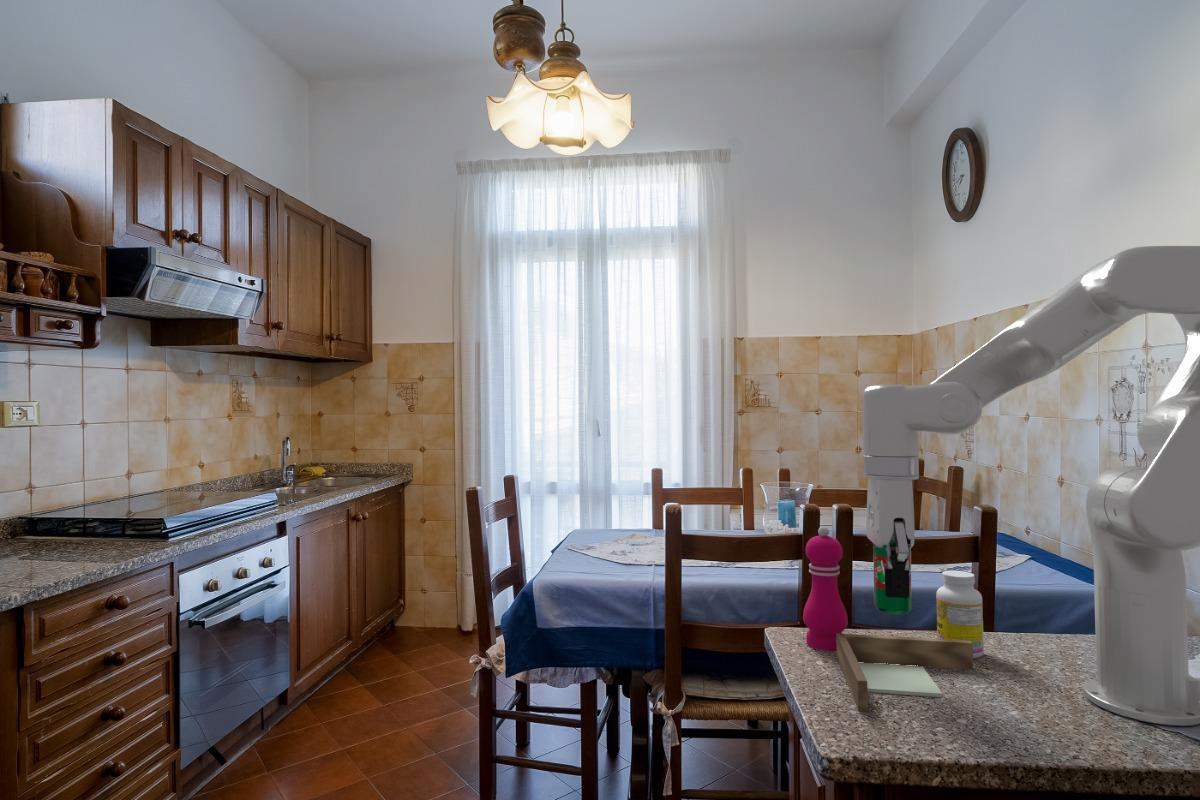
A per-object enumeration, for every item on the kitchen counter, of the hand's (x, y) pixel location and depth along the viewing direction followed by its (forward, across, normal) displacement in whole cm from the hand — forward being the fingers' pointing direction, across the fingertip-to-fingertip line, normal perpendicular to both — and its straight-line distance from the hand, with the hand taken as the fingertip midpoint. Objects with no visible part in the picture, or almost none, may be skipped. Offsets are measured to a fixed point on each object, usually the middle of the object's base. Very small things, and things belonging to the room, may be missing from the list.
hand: (892, 590), depth 97 cm
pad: (+13, 0, 0) cm, 13 cm away
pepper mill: (+13, -14, -8) cm, 21 cm away
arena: (+13, +2, +3) cm, 14 cm away
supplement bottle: (+13, -14, +13) cm, 23 cm away
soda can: (+3, 0, 0) cm, 3 cm away
